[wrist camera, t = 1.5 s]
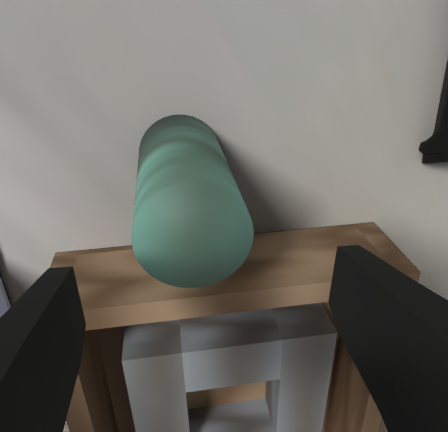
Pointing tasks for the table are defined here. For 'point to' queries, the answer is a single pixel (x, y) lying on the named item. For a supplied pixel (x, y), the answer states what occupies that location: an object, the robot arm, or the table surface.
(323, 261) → the box
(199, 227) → the peg
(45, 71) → the table surface
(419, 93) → the table surface
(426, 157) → the electric trimmer
